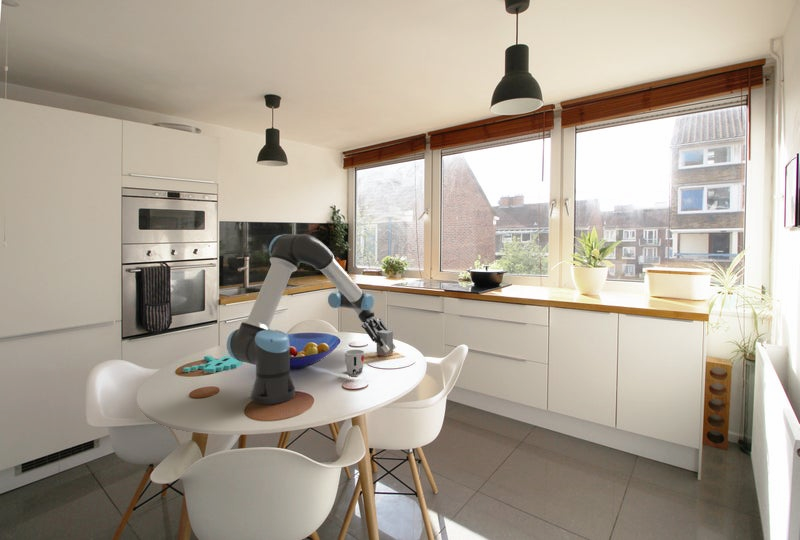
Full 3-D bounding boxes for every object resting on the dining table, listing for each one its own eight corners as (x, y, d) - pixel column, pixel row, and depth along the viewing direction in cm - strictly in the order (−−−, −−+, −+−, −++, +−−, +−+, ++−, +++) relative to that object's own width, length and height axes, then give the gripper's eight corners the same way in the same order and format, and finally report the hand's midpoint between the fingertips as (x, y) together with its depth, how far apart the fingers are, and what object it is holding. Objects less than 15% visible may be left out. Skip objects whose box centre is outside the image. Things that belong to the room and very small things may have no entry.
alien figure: (183, 373, 172) (229, 374, 172) (183, 368, 172) (229, 369, 172) (206, 359, 192) (248, 360, 192) (206, 355, 192) (248, 355, 192)
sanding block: (392, 353, 195) (392, 331, 194) (386, 356, 191) (386, 333, 190) (382, 352, 198) (382, 329, 197) (376, 354, 194) (376, 331, 193)
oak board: (405, 359, 192) (405, 356, 192) (359, 367, 180) (359, 364, 180) (391, 352, 204) (391, 349, 204) (347, 359, 192) (347, 356, 192)
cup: (352, 380, 164) (352, 356, 163) (341, 375, 170) (341, 351, 169) (368, 375, 169) (368, 352, 169) (357, 371, 176) (357, 348, 175)
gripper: (371, 313, 209) (397, 350, 201) (347, 319, 194) (375, 358, 186) (379, 304, 206) (406, 341, 198) (356, 309, 191) (384, 349, 183)
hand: (391, 349), depth 192 cm, fingers closed on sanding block, 5 cm apart
